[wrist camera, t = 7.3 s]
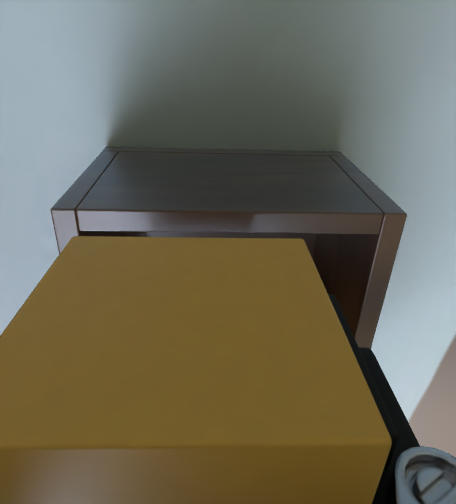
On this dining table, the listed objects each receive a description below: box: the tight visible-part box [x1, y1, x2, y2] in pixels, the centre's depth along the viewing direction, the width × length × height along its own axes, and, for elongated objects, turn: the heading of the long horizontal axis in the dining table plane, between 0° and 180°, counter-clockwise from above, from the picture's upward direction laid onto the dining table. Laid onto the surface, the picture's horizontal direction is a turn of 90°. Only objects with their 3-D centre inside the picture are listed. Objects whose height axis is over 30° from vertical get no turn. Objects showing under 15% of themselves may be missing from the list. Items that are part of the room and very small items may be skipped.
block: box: [0, 236, 392, 504], centre depth 8 cm, size 5×5×5 cm
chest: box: [51, 147, 407, 349], centre depth 23 cm, size 17×13×9 cm
